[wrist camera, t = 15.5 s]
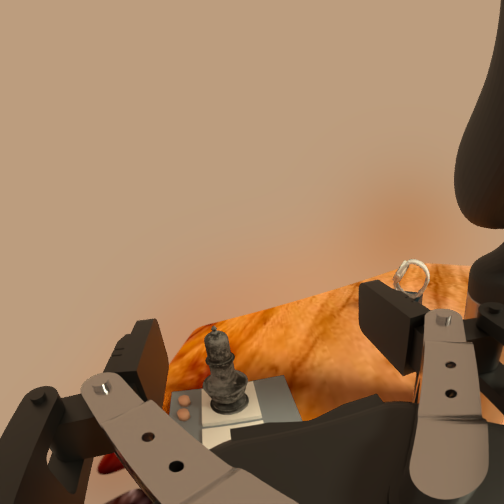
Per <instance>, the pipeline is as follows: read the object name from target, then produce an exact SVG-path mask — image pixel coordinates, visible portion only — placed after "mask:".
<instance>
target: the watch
mask: <svg viewBox="0 0 504 504" xmlns="http://www.w3.org/2000/svg"><path fill="white" fill-rule="evenodd" d="M411 263H412V264H416V265H417V266H419V267H421V268H422V269H423V270H424V272H425V274H426V279H425V283H424V286H423V287H422V288H421V290H419V291H418V293H417V292H408V291H403V290H402V288H401V287H400V285H399V283H398V282H399V281H400V280H401V278H402V277H403V275H404V274H405V272H406V271H407V269H408V267H409V264H411ZM429 278H430V274H429V270H428V269H427V266H426V265H425V264H424V263H421V261H419V260H415V259H410V260H408V261H407V262H406V261H404V262H403V263H402V264H401V266H400V267H399V269H398V270H397V272H396V274H395V275H394V277H393V281H394V284H393V285H394V288H395V290H399V291H402V292H403V293H405V294H406V295H408V296H409V297H411V298H412V299H414V300H415V301H417V302H419V303H420V304H422V296H423V292H424V291H425V289H426V287H427V285H428V283H429V280H430V279H429ZM400 288H401V289H400Z"/></svg>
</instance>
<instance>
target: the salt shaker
mask: <svg viewBox="0 0 504 504" xmlns="http://www.w3.org/2000/svg"><path fill="white" fill-rule="evenodd" d="M216 329H217V328H216V327H215V326H213V327H212V329H211V330H212V332H210V333H208V334H207V335H206V337H205V339H204V342H205V347H206V351H207V358H206V364H207V365H209V367H210V371H211V375H209V376H208V377H207V378H206V379H205V380H204V382H203V389H204V391H205V392H206V393H207V394H208V395H209V396H210V398H211V402H210V406H211V409H212V410H213V411H214V412H216V413H218V414H221V415H232V414H236V413H239V412H241V411H242V410H244V409H245V408H246V407H247V406H248V403H249V398H248V396H247V395H246V394H245V390H246V386H247V383H248V378H247V376H246V375H245V374H244V373H242V372H240V371H237V370H235V369H234V364H233V360H234V359H235V356H234V354H233V353H231V351H230V346H229V341H228V337H227V334H225V333H224V332H222V331H217V330H216Z"/></svg>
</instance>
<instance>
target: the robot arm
mask: <svg viewBox="0 0 504 504" xmlns="http://www.w3.org/2000/svg"><path fill="white" fill-rule="evenodd" d="M454 186H455V187H454V188H455V195H456V199H457V203H458V205H459V208H460V210H461V212H462V213H463V214H464V216H465V217H466V218H467V219H468V220H469V221H470V222H471V223H473V224H475V225H477V226H480V227H484V228H490V229H504V0H501V7H500V16H499V23H498V30H497V36H496V41H495V46H494V51H493V56H492V60H491V63H490V67H489V71H488V74H487V78H486V80H485V83H484V86H483V88H482V91H481V94H480V96H479V99H478V101H477V103H476V106H475V108H474V111H473V113H472V115H471V118H470V120H469V122H468V124H467V127H466V129H465V132H464V134H463V137H462V140H461V143H460V146H459V149H458V154H457V158H456V164H455V172H454ZM359 325H360V328H361V331H362V332H363V334H364V335H365V336H366V337H367V338H368V339H369V340H370V341H371V342H372V343H373V344H374V345H375V346H376V348H377V349H378V350H379V351H380V352H381V353H382V354H383V355H384V356H385V357H386V358H387V359H388V360H389V362H390V363H391V364H392V365H393V366H394V367H395V368H396V369H397V370H398V371H399V372H400V373H401V375H402V376H405V375H408V374H410V373H413V372H416V378H415V385H414V392H413V398H412V402H403V401H392V402H383V401H382V400H381V399H380V397H379V396H378V395H377V394H374V395H371V396H368V397H365V398H362V399H359V400H356V401H353V402H349V403H346V404H343V405H341V406H339V407H337V408H335V409H333V410H331V411H329V412H327V413H325V414H323V415H321V416H319V417H317V418H315V419H312V420H309V421H297V422H268V423H262V424H257V425H251V426H245V427H239V428H232V429H230V434H231V440H228V441H225V442H223V443H221V444H219V445H216V446H215V447H213V448H211V449H207V448H206V447H205V446H204V445H202V444H201V443H200V442H199V441H198V440H196V439H195V438H194V437H193V436H192V435H190V434H189V433H188V432H187V431H186V430H185V429H183V428H182V427H181V426H180V425H179V424H178V423H177V422H175V421H174V420H173V419H172V418H171V417H170V416H169V415H168V414H167V413H166V412H164V411H163V410H162V406H163V400H164V393H165V387H166V381H167V375H168V370H169V363H168V357H167V352H166V349H165V346H164V342H163V339H162V335H161V332H160V328H159V324H158V322H157V320H156V319H148V320H140V321H137V322H136V324H135V326H134V328H133V330H132V332H131V334H126V335H125V336H124V337H123V338H121V339H120V340H119V341H118V342H117V344H116V346H115V348H114V351H113V353H112V355H111V357H110V359H109V361H108V363H107V365H106V367H105V369H104V371H103V373H100V374H97V375H94V376H92V377H90V378H89V379H87V380H86V381H85V382H84V383H83V385H82V387H81V394H78V395H73V396H69V397H64V398H60V396H59V394H58V392H57V390H56V389H55V388H53V387H50V386H43V387H39V388H36V389H34V390H32V391H30V392H29V393H27V394H26V395H25V396H24V398H23V399H22V401H21V403H20V404H19V406H18V408H17V410H16V411H15V413H14V415H13V416H12V418H11V420H10V422H9V424H8V425H7V427H6V429H5V431H4V433H3V435H2V436H1V438H0V504H84V500H85V495H86V490H87V485H88V480H89V476H90V471H91V467H92V462H93V457H96V456H101V455H106V454H110V453H115V454H116V456H117V457H118V459H119V460H120V461H121V463H122V464H123V466H124V467H125V468H126V470H127V471H128V472H129V474H130V475H131V476H132V478H133V479H134V480H135V481H136V483H137V484H138V485H139V487H140V488H141V489H142V490H143V492H144V493H145V494H146V495H147V497H148V498H149V499H150V501H151V502H152V503H153V504H504V425H501V424H502V422H503V420H504V242H503V243H502V244H501V245H500V246H499V247H498V248H497V249H495V250H494V251H492V252H490V253H488V254H486V255H484V256H482V257H481V258H479V259H478V260H476V261H475V262H474V264H473V265H472V267H471V269H470V273H469V282H468V292H467V300H466V308H465V315H464V320H463V319H462V316H461V315H460V314H459V313H457V312H455V311H453V310H449V309H435V310H429V309H428V308H426V307H425V306H423V305H422V304H420V303H419V302H417V301H415V300H414V299H412V298H411V297H409V296H408V295H406V294H405V293H403V292H402V291H399V290H395V289H392V288H390V287H389V286H387V285H386V284H384V283H383V282H381V281H380V280H374V281H369V282H365V283H361V284H360V286H359ZM49 448H50V449H51V451H52V455H51V458H50V461H49V463H48V465H47V461H46V457H47V452H48V450H49Z"/></svg>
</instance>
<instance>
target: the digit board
mask: <svg viewBox="0 0 504 504" xmlns="http://www.w3.org/2000/svg"><path fill="white" fill-rule="evenodd" d="M245 394H246V395H247V396H248V398H249V403H248V406H247V407H246V408H245V409H244V410H242V411H241V412H239V413H236V414H232V415H221V414H218V413H216V412H214V411H213V410H212V409H211V406H210V402H211V398H210V396H209V395H208V394H207V393H206V392H205V391H204V389H203V388H202V389H194V390H186V391H176V392H172V396H171V404H170V413H169V416H170V417H171V418H172V419H173V420H174V421H175V422H177V423H178V424H179V425H180V426H181V427H182V428H183V429H185V430H186V431H187V432H188V433H189V434H190V435H192V436H193V437H194V438H195V439H196V440H198V441H199V442H200V443H201V444H202V445H204V446H205V447H206V448H207V449H211V448H213V447H215V446H216V445H219V444H221V443H223V442H225V441H228V440H231V434H230V429H232V428H239V427H245V426H251V425H257V424H262V423H268V422H297V421H302V419H301V416H300V414H299V412H298V409H297V407H296V404H295V402H294V399H293V397H292V394H291V392H290V389H289V387H288V385H287V382H286V380H285V377H284V375H281V376H276V377H271V378H266V379H261V380H255V381H249V382H248V383H247V386H246V390H245Z"/></svg>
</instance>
